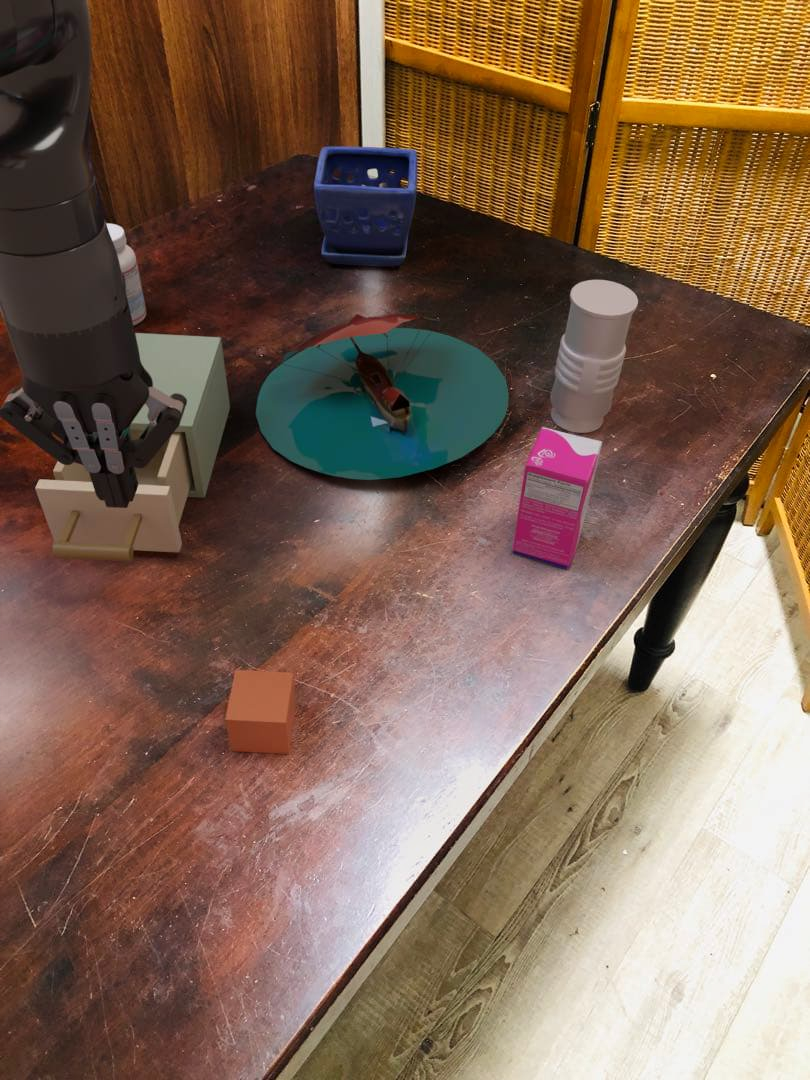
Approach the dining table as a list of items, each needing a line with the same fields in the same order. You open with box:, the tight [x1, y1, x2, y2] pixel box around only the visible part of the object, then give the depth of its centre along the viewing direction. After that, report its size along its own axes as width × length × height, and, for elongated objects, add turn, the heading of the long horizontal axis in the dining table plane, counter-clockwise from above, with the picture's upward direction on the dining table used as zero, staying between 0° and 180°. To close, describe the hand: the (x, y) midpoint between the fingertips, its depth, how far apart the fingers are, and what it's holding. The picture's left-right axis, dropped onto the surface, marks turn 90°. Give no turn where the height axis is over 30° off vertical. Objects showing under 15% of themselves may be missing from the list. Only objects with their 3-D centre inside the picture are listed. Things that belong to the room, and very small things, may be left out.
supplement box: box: [511, 426, 603, 571], centre depth 81 cm, size 6×6×12 cm
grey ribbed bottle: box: [549, 279, 639, 434], centre depth 93 cm, size 7×7×15 cm
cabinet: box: [130, 332, 231, 499], centre depth 89 cm, size 15×13×9 cm
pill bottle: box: [106, 222, 147, 326], centre depth 105 cm, size 6×6×11 cm
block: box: [224, 669, 297, 755], centre depth 68 cm, size 4×4×4 cm
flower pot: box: [313, 146, 418, 267], centre depth 119 cm, size 13×13×12 cm
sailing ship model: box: [255, 313, 510, 481], centre depth 95 cm, size 28×28×11 cm
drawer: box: [34, 429, 193, 563], centre depth 81 cm, size 19×11×7 cm, turn 178°
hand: (120, 500), depth 67 cm, fingers closed
